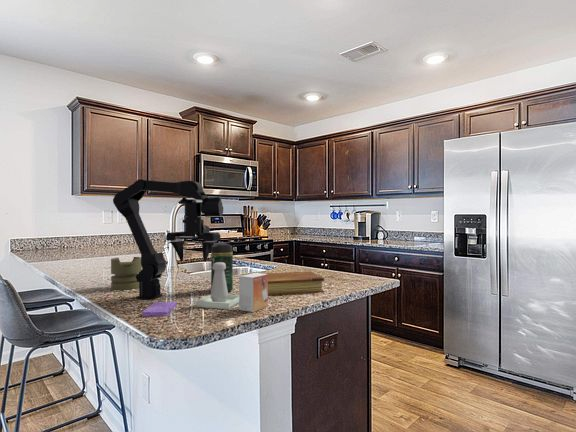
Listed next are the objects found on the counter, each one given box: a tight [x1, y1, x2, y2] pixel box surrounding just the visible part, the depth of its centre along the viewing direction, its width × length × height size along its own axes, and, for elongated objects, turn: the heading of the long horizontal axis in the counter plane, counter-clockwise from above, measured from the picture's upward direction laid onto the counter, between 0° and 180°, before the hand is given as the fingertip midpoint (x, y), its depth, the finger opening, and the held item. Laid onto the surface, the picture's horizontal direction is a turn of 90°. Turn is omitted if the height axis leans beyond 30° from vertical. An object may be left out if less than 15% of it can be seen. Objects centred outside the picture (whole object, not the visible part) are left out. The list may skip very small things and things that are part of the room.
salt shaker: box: [209, 262, 229, 302], centre depth 119 cm, size 6×6×13 cm
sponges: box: [141, 301, 177, 317], centre depth 111 cm, size 7×13×2 cm, turn 4°
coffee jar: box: [210, 242, 234, 292], centre depth 140 cm, size 10×8×19 cm
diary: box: [261, 270, 325, 296], centre depth 143 cm, size 23×19×6 cm
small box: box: [238, 272, 269, 313], centre depth 113 cm, size 8×6×10 cm
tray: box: [195, 293, 239, 310], centre depth 119 cm, size 12×12×2 cm
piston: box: [110, 256, 142, 291], centre depth 146 cm, size 11×12×11 cm
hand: (193, 261), depth 128 cm, fingers open, 9 cm apart
